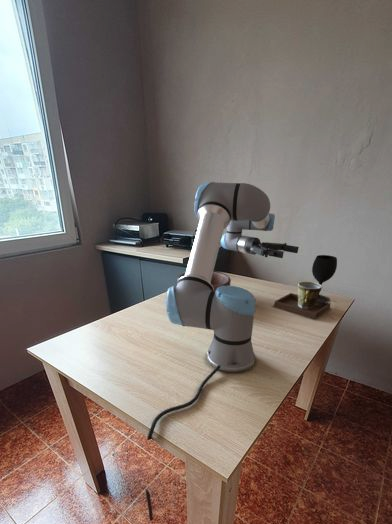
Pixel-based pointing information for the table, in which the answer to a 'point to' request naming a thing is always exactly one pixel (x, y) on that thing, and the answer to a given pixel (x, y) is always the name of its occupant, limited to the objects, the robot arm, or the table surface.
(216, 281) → the wooden bowl
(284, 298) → the tray
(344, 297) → the table surface
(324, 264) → the wine glass
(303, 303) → the ceramic cup
